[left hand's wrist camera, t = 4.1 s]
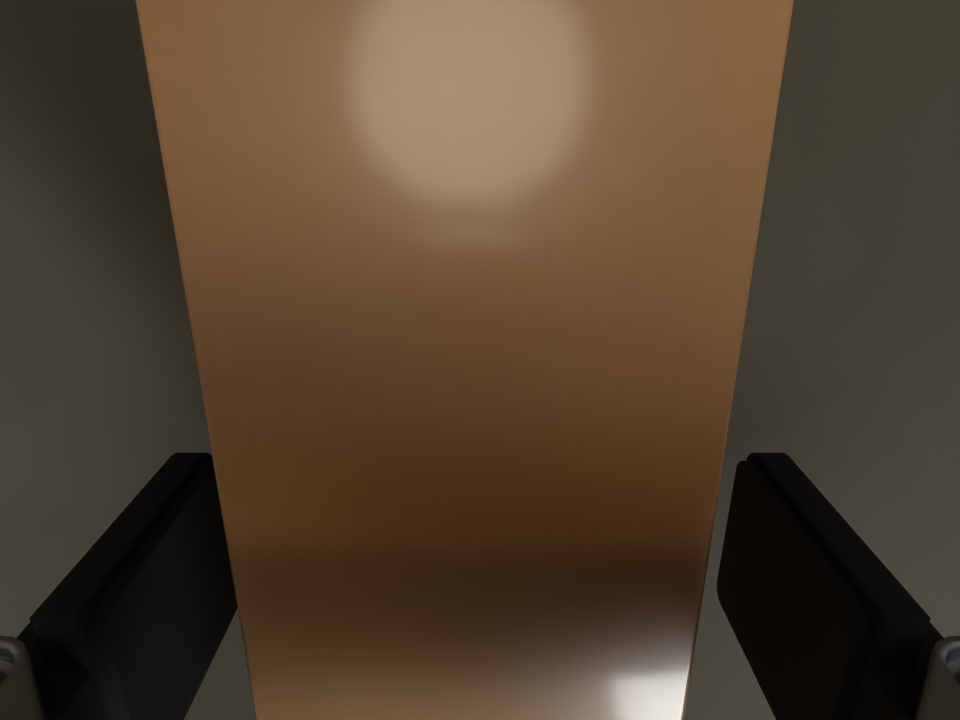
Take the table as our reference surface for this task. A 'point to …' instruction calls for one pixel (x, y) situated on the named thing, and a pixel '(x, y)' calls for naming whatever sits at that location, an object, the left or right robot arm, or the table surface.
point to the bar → (467, 334)
